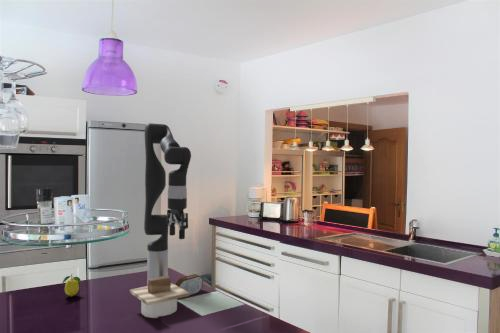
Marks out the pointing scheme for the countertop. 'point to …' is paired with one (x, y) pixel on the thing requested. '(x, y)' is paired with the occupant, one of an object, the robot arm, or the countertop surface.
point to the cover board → (160, 295)
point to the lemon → (71, 285)
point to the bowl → (159, 308)
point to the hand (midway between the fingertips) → (176, 237)
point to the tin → (191, 283)
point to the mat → (210, 303)
